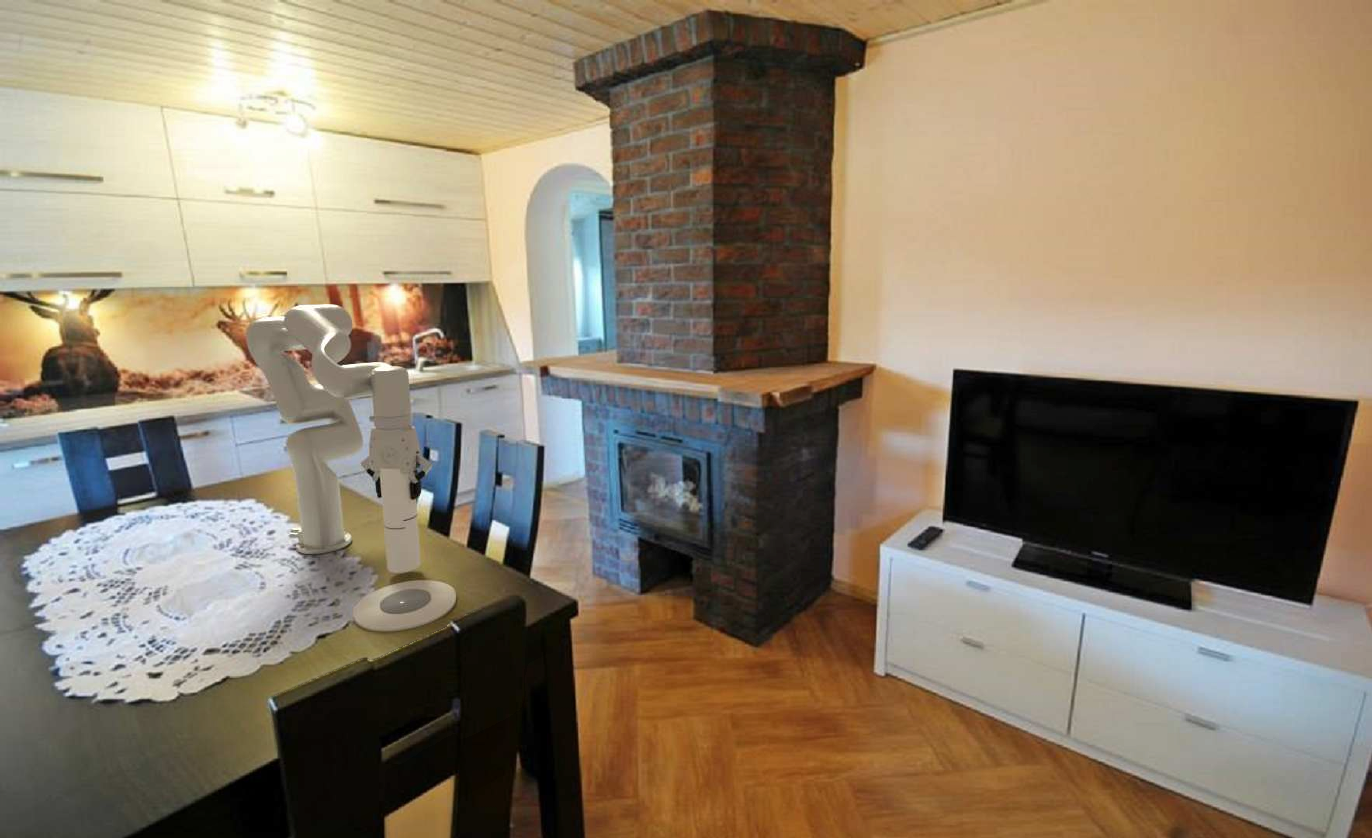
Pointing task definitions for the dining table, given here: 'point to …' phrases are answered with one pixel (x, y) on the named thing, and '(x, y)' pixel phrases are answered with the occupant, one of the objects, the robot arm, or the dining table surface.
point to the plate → (404, 605)
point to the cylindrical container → (399, 521)
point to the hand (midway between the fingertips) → (399, 496)
